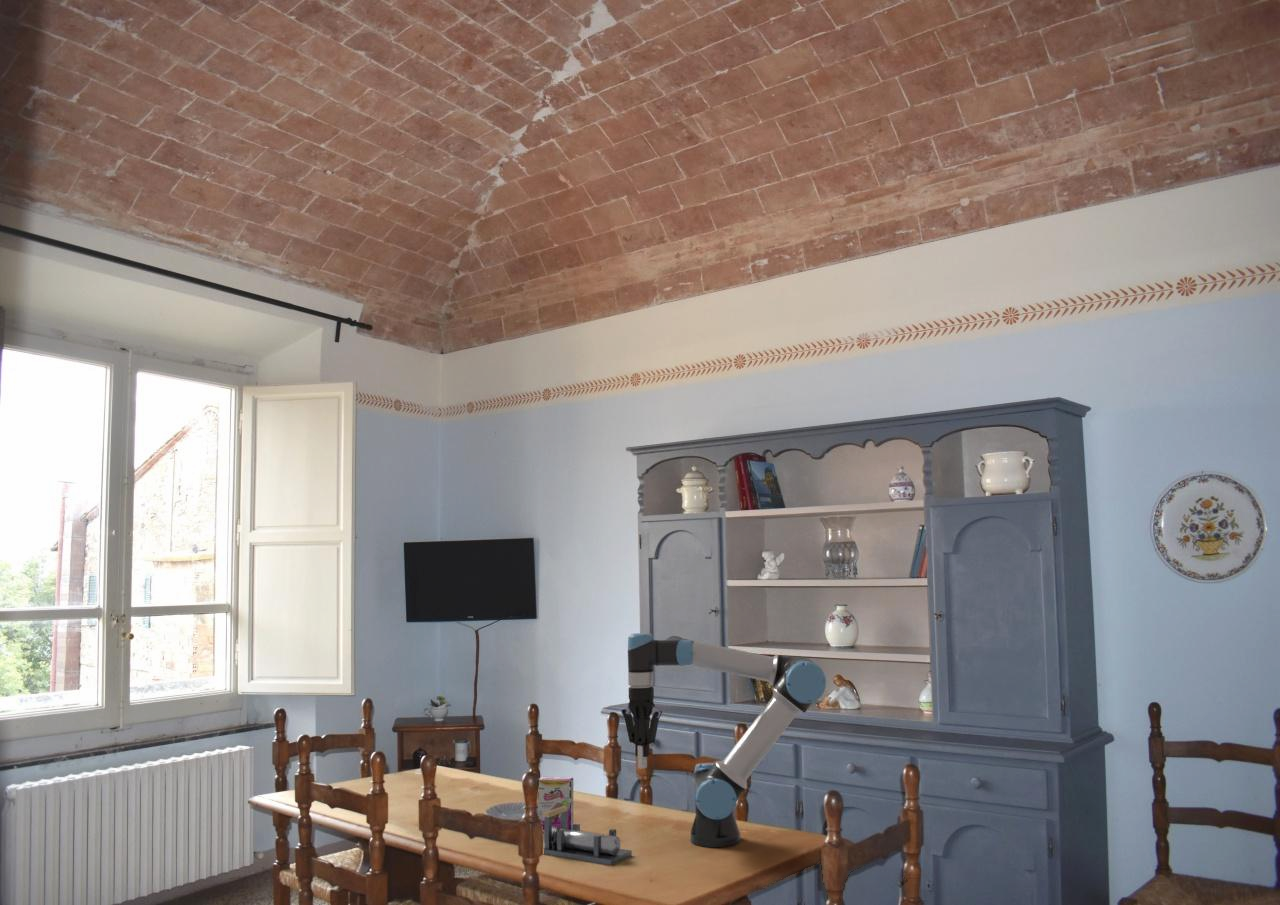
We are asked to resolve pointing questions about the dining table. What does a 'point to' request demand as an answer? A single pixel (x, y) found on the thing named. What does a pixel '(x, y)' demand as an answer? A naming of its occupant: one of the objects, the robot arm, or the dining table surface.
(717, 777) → the robot arm
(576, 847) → the tube
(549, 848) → the collar board
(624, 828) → the dining table surface
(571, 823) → the candy bar box
